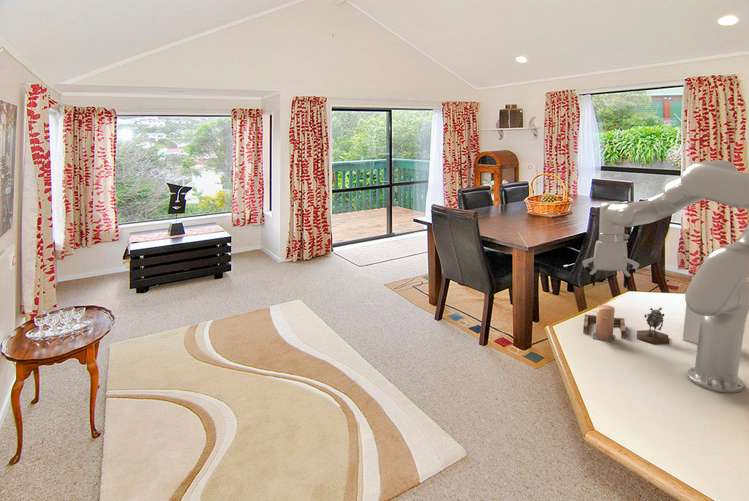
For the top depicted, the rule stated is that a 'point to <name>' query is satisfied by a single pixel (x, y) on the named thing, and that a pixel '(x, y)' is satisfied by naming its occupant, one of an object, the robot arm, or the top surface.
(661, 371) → the top surface
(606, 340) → the mat
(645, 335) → the robot figurine
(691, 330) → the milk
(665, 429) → the top surface
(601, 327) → the peach rounded cylinder
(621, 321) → the frame
